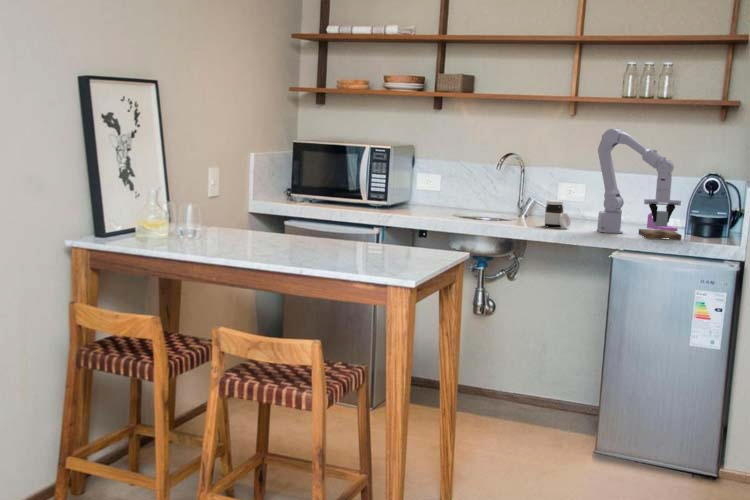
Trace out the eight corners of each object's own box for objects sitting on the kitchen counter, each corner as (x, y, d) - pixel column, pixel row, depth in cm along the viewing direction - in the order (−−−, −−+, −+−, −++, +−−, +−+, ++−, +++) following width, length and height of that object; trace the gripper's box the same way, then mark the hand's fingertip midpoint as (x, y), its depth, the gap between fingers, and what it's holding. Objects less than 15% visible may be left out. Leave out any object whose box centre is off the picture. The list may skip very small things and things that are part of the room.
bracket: (646, 227, 383) (648, 212, 382) (653, 227, 386) (655, 211, 385) (672, 231, 373) (674, 216, 372) (679, 230, 376) (681, 215, 375)
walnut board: (646, 238, 349) (646, 233, 349) (638, 233, 363) (638, 229, 362) (681, 240, 348) (681, 235, 348) (671, 234, 362) (672, 230, 362)
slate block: (656, 226, 353) (657, 211, 352) (653, 224, 357) (654, 210, 356) (667, 226, 353) (668, 212, 352) (664, 225, 357) (665, 211, 356)
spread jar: (545, 224, 382) (547, 199, 380) (571, 226, 379) (573, 200, 377) (542, 228, 371) (544, 201, 369) (569, 230, 367) (570, 203, 365)
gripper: (648, 189, 349) (645, 222, 351) (684, 191, 348) (681, 223, 350) (643, 188, 356) (641, 220, 358) (679, 189, 355) (676, 221, 357)
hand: (660, 222), depth 354 cm, fingers closed on slate block, 4 cm apart
